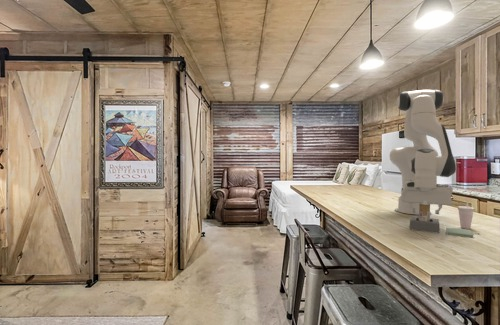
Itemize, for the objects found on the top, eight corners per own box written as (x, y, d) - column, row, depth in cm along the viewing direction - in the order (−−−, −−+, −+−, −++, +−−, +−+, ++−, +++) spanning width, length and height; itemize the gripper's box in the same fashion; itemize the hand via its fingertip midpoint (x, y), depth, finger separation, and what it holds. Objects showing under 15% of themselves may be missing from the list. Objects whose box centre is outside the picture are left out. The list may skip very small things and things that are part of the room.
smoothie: (477, 229, 132) (477, 199, 131) (461, 229, 133) (462, 199, 132) (469, 226, 138) (470, 197, 137) (454, 225, 139) (455, 197, 139)
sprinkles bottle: (416, 227, 135) (417, 199, 135) (422, 226, 138) (422, 198, 137) (426, 230, 131) (426, 201, 131) (432, 228, 134) (432, 200, 133)
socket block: (410, 224, 142) (411, 216, 142) (438, 227, 136) (438, 218, 136) (409, 229, 133) (410, 221, 132) (439, 233, 127) (439, 224, 127)
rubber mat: (445, 229, 132) (445, 227, 132) (470, 232, 128) (470, 230, 127) (447, 234, 125) (447, 232, 124) (473, 237, 120) (473, 235, 120)
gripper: (452, 184, 131) (451, 214, 131) (401, 182, 141) (401, 210, 142) (453, 185, 125) (452, 216, 126) (400, 183, 136) (400, 212, 136)
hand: (425, 213), depth 134 cm, fingers open, 8 cm apart
